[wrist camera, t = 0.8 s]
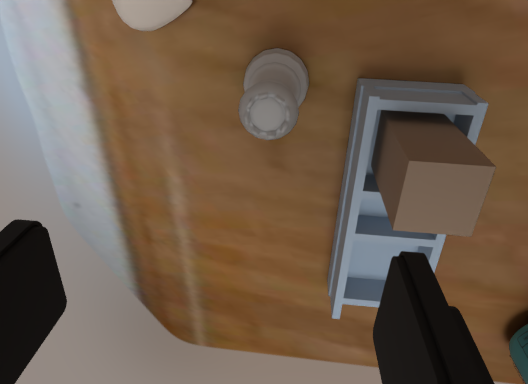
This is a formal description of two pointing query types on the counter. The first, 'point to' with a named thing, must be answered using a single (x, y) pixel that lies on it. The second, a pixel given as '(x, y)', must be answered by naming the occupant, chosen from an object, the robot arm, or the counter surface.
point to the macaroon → (150, 12)
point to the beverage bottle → (520, 351)
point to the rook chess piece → (273, 93)
